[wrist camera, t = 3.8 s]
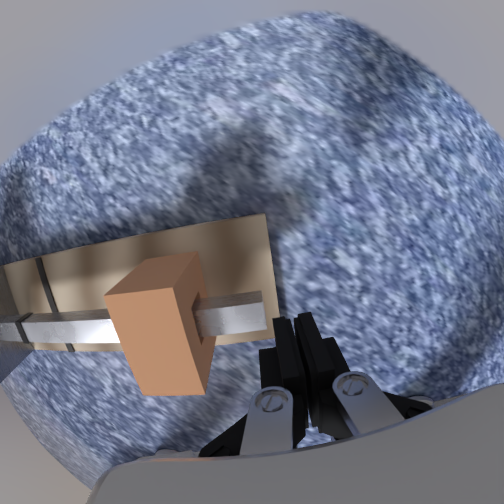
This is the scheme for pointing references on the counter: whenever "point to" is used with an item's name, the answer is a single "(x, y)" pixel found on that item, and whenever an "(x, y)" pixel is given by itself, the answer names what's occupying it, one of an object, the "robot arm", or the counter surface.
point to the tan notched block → (163, 325)
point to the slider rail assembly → (101, 327)
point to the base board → (134, 253)
